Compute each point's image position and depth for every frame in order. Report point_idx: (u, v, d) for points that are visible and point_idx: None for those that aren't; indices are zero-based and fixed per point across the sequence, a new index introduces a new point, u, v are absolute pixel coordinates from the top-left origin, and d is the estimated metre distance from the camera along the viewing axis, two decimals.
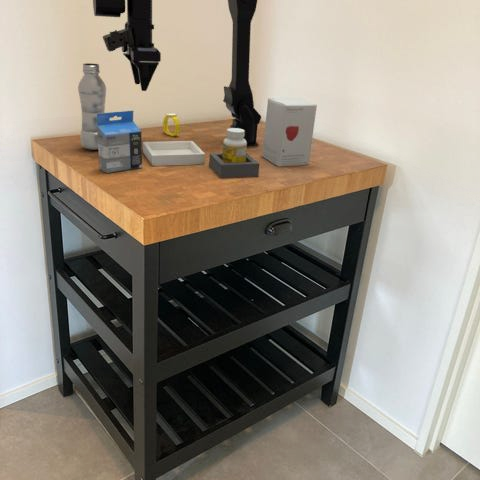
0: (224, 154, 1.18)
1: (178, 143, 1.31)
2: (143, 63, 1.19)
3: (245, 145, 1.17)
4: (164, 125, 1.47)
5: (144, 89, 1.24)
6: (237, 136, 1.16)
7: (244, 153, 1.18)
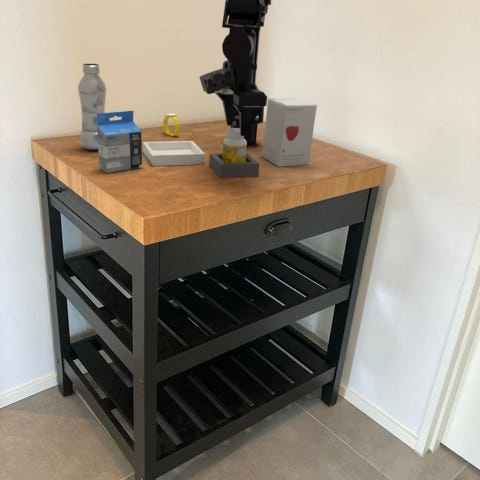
0: (224, 154, 1.18)
1: (178, 143, 1.31)
2: (247, 108, 1.07)
3: (245, 145, 1.17)
4: (164, 125, 1.47)
5: (243, 134, 1.13)
6: (237, 136, 1.16)
7: (244, 153, 1.18)
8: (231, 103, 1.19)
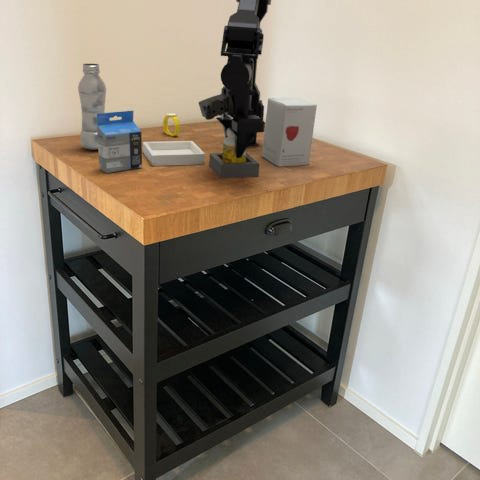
0: (224, 154, 1.18)
1: (178, 143, 1.31)
2: None
3: None
4: (164, 125, 1.47)
5: (239, 156, 1.17)
6: None
7: (244, 153, 1.18)
8: None
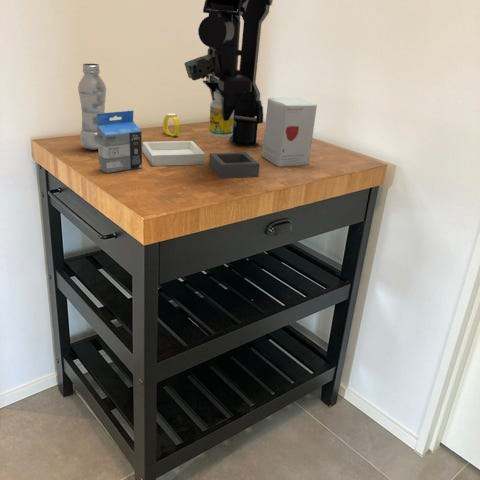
0: (211, 117, 1.16)
1: (178, 143, 1.31)
2: (230, 92, 1.09)
3: None
4: (164, 125, 1.47)
5: (226, 118, 1.15)
6: None
7: (231, 116, 1.16)
8: None
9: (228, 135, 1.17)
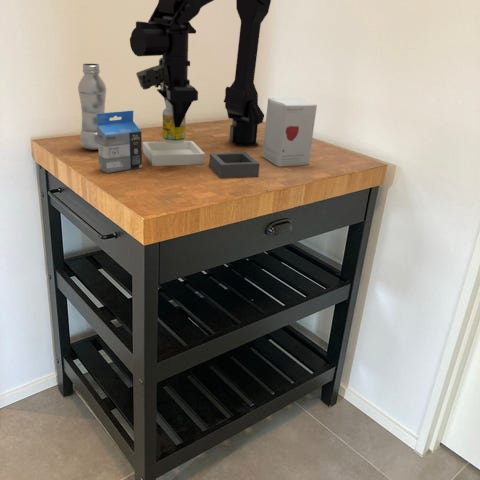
0: (163, 124, 1.22)
1: (178, 143, 1.31)
2: (178, 101, 1.15)
3: None
4: None
5: (177, 125, 1.21)
6: None
7: (183, 123, 1.22)
8: None
9: (180, 141, 1.23)
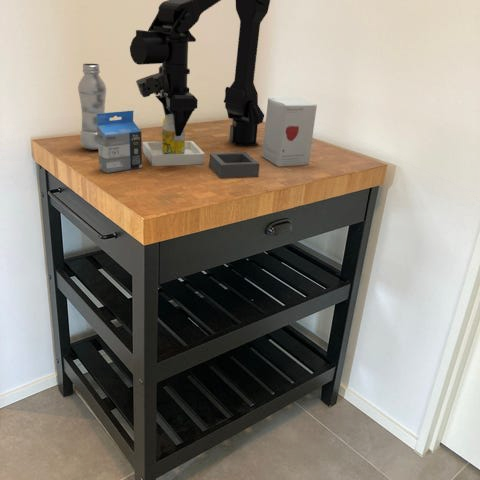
0: (163, 139, 1.24)
1: None
2: (179, 110, 1.15)
3: (183, 130, 1.23)
4: None
5: (178, 134, 1.20)
6: None
7: (182, 138, 1.24)
8: None
9: None
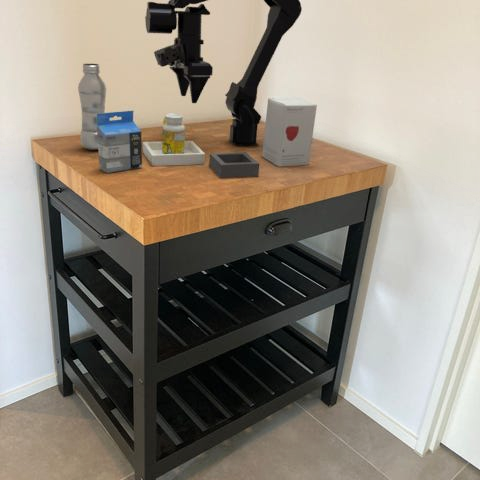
0: (163, 139, 1.24)
1: None
2: (196, 77, 1.24)
3: (183, 130, 1.23)
4: None
5: (194, 101, 1.30)
6: (174, 121, 1.21)
7: (182, 138, 1.24)
8: (184, 76, 1.36)
9: None
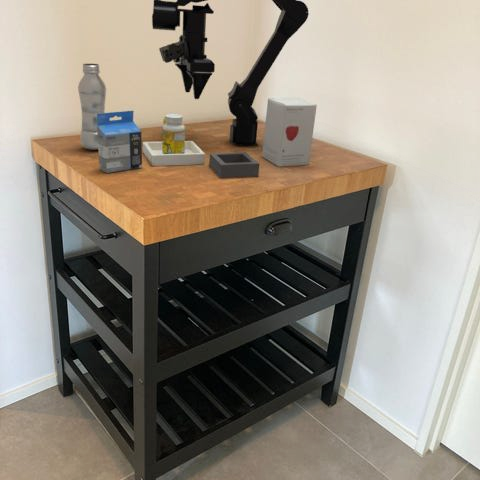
0: (163, 139, 1.24)
1: None
2: (198, 74, 1.28)
3: (183, 130, 1.23)
4: None
5: (197, 97, 1.33)
6: (174, 121, 1.21)
7: (182, 138, 1.24)
8: (188, 73, 1.40)
9: None
